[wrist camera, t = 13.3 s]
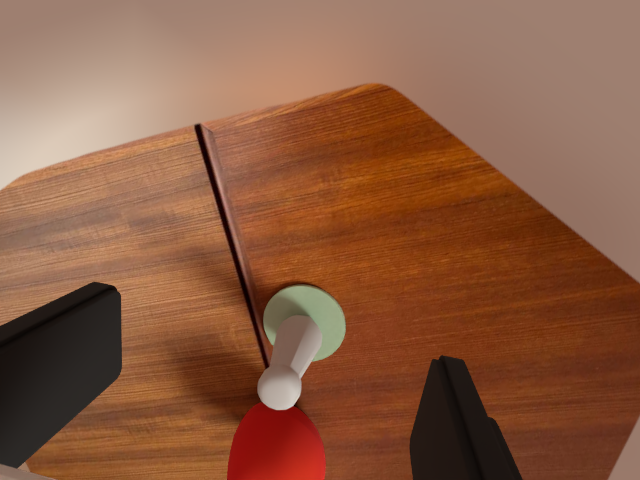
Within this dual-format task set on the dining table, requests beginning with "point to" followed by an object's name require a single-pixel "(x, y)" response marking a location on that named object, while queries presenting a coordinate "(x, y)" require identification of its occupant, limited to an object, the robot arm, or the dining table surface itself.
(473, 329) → the dining table surface
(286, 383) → the salt shaker
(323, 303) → the coaster
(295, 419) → the tomato
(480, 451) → the robot arm
